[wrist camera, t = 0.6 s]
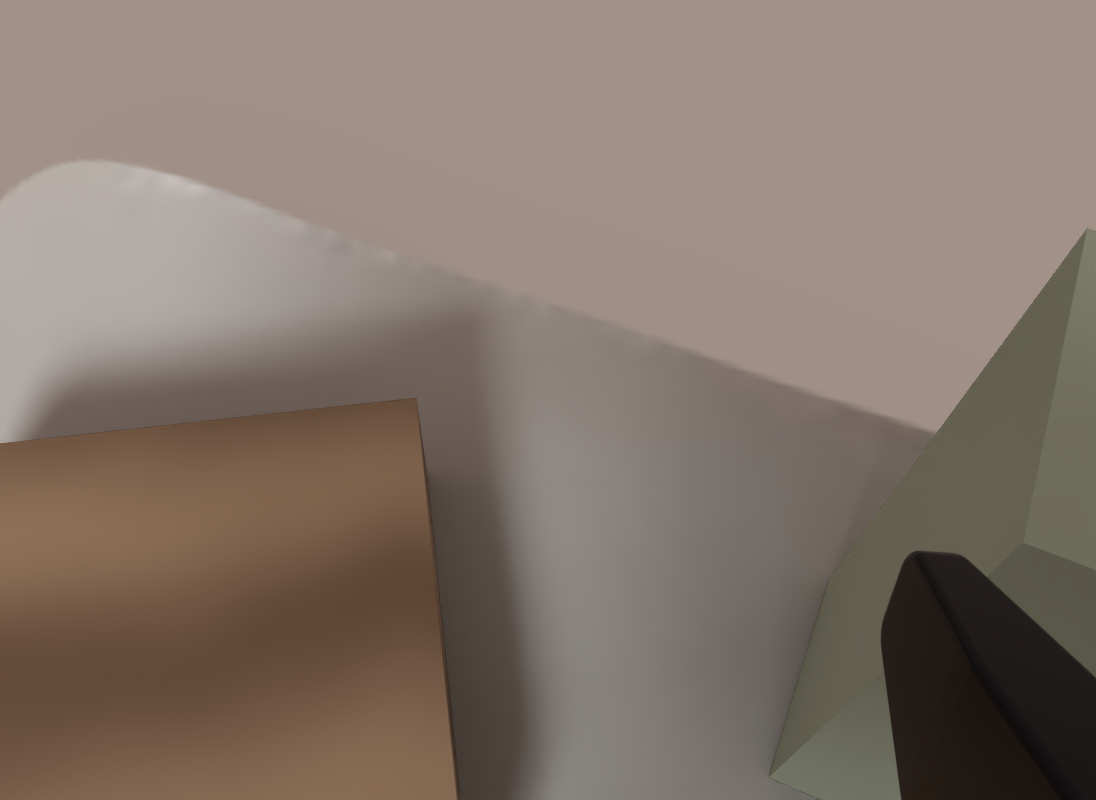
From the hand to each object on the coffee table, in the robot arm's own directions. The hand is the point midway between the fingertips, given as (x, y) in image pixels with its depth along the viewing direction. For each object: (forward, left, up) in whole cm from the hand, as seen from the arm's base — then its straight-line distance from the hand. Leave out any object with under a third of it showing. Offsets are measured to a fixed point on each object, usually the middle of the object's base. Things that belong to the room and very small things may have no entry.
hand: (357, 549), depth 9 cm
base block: (+4, +4, -15) cm, 17 cm away
